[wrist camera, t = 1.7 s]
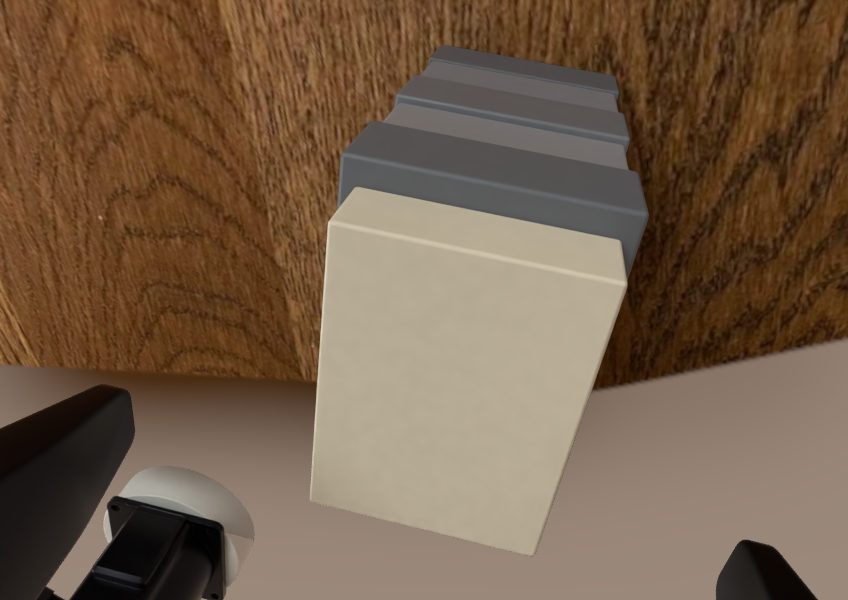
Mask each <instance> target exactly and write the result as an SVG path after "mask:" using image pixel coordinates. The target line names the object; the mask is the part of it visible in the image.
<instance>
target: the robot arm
mask: <svg viewBox="0 0 848 600" xmlns="http://www.w3.org/2000/svg"><path fill="white" fill-rule="evenodd" d="M134 434H135V426H134V418H133V411H132V403H131V397H130V394H129V392H128V391H127V390H125V389H122V388H118V387H113V386H110V385H103V384H101V385H97V386H95V387H92V388H90V389H88V390H86V391H84V392H81V393H79V394H77V395H74V396H72V397H70V398H68V399H65V400H63V401H61V402H59V403H56V404H54V405H52V406H50V407H48V408H45V409H43V410H41V411H39V412H36V413H34V414H32V415H29V416H27V417H25V418H23V419H21V420H18V421H16V422H14V423H12V424H9V425H7V426H5V427H3V428H0V600H64V599H63V598H61V597H59V596H57V595H56V594H54V591H53V590H51V589H50V588H48V587H46V585H47V584H48V582H49V581H50V579H51V578H52V577H53V575H54V574H55V572H56V571H57V569H58V568H59V566H60V565H61V564H62V562H63V561H64V559H65V558H66V556H67V555H68V554H69V552H70V551H71V549H72V548H73V546H74V545H75V543H76V542H77V540H78V539H79V537H80V536H81V534H82V533H83V531H84V529H85V528H86V526H87V524H88V523H89V521H90V519H91V517H92V516H93V514H94V512H95V510H96V508H97V506H98V505H99V503H100V501H101V499H102V497H103V496H104V494H105V492H106V490H107V488H108V486H109V485H110V483H111V481H112V479H113V477H114V476H115V474H116V472H117V470H118V468H119V467H120V465H121V463H122V461H123V459H124V458H125V456H126V454H127V452H128V450H129V448H130V447H131V444H132V442H133V439H134ZM107 509H108V515H109V522H110V528H111V534H112V540H111V542H110V543H109V545H108V546H107V548H106V549H105V550H104V551H103V553H102V554H101V556H100V557H99V558H98V560H97V561H96V562H95V564H94V565H93V567H92V569H91V570H90V572H89V573H88V574H87V576H86V577H85V579H84V580H83V581H82V583H81V584H80V586H79V587H78V588H77V590H76V591H75V592H74V594H73V595H72V597H71V598H70V599H69V600H201V598H204V599H207V600H223V599H224V597H225V595H226V568H225V536H224V527H223V525H222V524H221V523H219V522H217V521H214V520H210V519H206V518H202V517H198V516H195V515H191V514H187V513H183V512H179V511H175V510H171V509H167V508H163V507H159V506H155V505H151V504H148V503H144V502H140V501H136V500H132V499H128V498H124V497H120V496H113V497H112V498H111V500H110V501H109V502H108V503H107ZM716 600H818V599H817V598H816V597H815V596H814V594H813V593H812V592H811V591H810V590H809V588H808V587H807V586H806V585H805V583H804V582H803V581H802V580H801V579H800V578H799V576H798V575H797V574H796V573H795V571H794V570H793V569H792V568H791V566H790V565H789V564H788V563H787V561H786V560H785V559H784V558H783V556H782V555H781V554H780V553H779V552H778V551H777V550H776V549H775V548H774V547H772V546H770V545H766V544H763V543H758V542H754V541H750V540H742V541H740V542H739V543H738V544H737V546H736V547H735V549H734V551H733V552H732V554H731V556H730V557H729V559H728V561H727V563H726V564H725V566H724V568H723V569H722V571H721V573H720V575H719V577H718V581H717V586H716Z"/></svg>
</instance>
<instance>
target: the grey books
mask: <svg viewBox="0 0 848 600" xmlns="http://www.w3.org/2000/svg"><path fill="white" fill-rule="evenodd" d="M618 97H619V90H618V86H617V82H616V78H615V76H613V75H607V74H602V73H596V72H591V71H585V70H580V69H574V68H569V67H563V66H558V65H552V64H547V63H541V62H536V61H530V60H525V59H519V58H514V57H508V56H503V55H497V54H492V53H486V52H481V51H475V50H470V49H464V48H459V47H453V46H448V45H441V46H440V47H439V48H438V50H437V51H436V52H435V53H434V54H433V55H432V56H431V57H430V58H429V64H428V67H427V68H426V69H425V71H424V72H423V73H422V74H421V75H414V76H413V77H412V78H411V79H410V80H409V81H408V82H407V83H406V85H405V86H404V87H403V88H402V89H401V90H400V91H399V92H398V93H397V94H396V96H395V105H394V109H393V111H392V112H391V113H390V114H389V115H388V116H387V117H386V119H385V120H384V121H383V122H378V121H372V122H370V123H369V124H368V126H367V127H366V128H365V129H364V130H363V131H362V132H361V133H360V134H359V135H358V136H357V137H356V138H355V139H354V141H353V142H352V143H351V144H350V145H349V146H348V147H347V148H346V149H345V150H344V151H343V153H342V154H341V161H340V174H339V188H338V201H337V210H338V209H339V207H340V206H341V205H342V204H343V202H344V201H345V200H346V198H347V197H348V196H349V195H350V193H351V192H352V191H353V189H354V188H355V187H361V188H366V189H371V190H376V191H381V192H386V193H391V194H396V195H401V196H406V197H411V198H415V199H420V200H425V201H430V202H435V203H440V204H445V205H450V206H455V207H460V208H465V209H469V210H474V211H479V212H484V213H489V214H494V215H499V216H504V217H509V218H514V219H519V220H523V221H528V222H533V223H538V224H543V225H548V226H553V227H558V228H563V229H568V230H573V231H577V232H582V233H587V234H592V235H597V236H602V237H607V238H612V239H617V240H619V241H621V244H622V250H623V257H624V264H625V271H626V278H627V280H628V277H629V274H630V271H631V268H632V265H633V263H634V260H635V257H636V254H637V251H638V248H639V245H640V242H641V239H642V236H643V233H644V230H645V227H646V224H647V222H648V219H649V213H648V209H647V205H646V201H645V197H644V193H643V189H642V185H641V181H640V177H639V174H638V173H637V172H635V171H630V170H629V168H628V164H627V159H626V153H627V150H628V147H629V144H630V136H629V132H628V128H627V124H626V120H625V116H624V114H622V113H619V112H618V108H617V100H618Z"/></svg>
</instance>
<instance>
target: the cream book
mask: <svg viewBox="0 0 848 600" xmlns="http://www.w3.org/2000/svg"><path fill="white" fill-rule="evenodd" d="M627 286H628V285H627V278H626V271H625V264H624V257H623V250H622V244H621V241H619V240H617V239H612V238H607V237H602V236H597V235H592V234H587V233H582V232H577V231H573V230H568V229H563V228H558V227H553V226H548V225H543V224H538V223H533V222H528V221H523V220H519V219H514V218H509V217H504V216H499V215H494V214H489V213H484V212H479V211H474V210H469V209H465V208H460V207H455V206H450V205H445V204H440V203H435V202H430V201H425V200H420V199H415V198H411V197H406V196H401V195H396V194H391V193H386V192H381V191H376V190H371V189H366V188H361V187H355V188H354V189H353V191H352V192H351V193H350V195H349V196H348V197H347V198H346V200H345V201H344V202H343V204H342V205H341V206H340V207H339V209H338V210H337V211H336V213H335V214H334V215H333V217H332V218H331V219H330V221H329V222H328V231H327V246H326V261H325V276H324V291H323V306H322V321H321V336H320V351H319V366H318V381H317V396H316V412H315V426H314V442H313V456H312V472H311V473H312V474H311V486H310V501H311V502H314V503H318V504H322V505H326V506H330V507H334V508H338V509H342V510H346V511H350V512H354V513H358V514H362V515H366V516H370V517H374V518H378V519H382V520H386V521H390V522H394V523H398V524H402V525H406V526H410V527H415V528H418V529H422V530H426V531H430V532H435V533H438V534H442V535H446V536H450V537H454V538H458V539H462V540H466V541H471V542H474V543H478V544H483V545H487V546H490V547H494V548H499V549H502V550H506V551H510V552H514V553H519V554H522V555H526V556H531V557H533V556H534V555H535V554H536V551H537V548H538V545H539V543H540V540H541V537H542V534H543V531H544V528H545V525H546V522H547V519H548V516H549V513H550V510H551V508H552V505H553V502H554V499H555V496H556V493H557V490H558V487H559V484H560V481H561V479H562V476H563V472H564V470H565V467H566V464H567V461H568V458H569V455H570V452H571V449H572V447H573V444H574V441H575V438H576V435H577V432H578V429H579V426H580V423H581V420H582V417H583V414H584V412H585V409H586V406H587V403H588V400H589V397H590V394H591V391H592V388H593V385H594V382H595V380H596V377H597V374H598V371H599V368H600V365H601V362H602V359H603V356H604V353H605V350H606V348H607V345H608V342H609V339H610V336H611V333H612V330H613V327H614V324H615V321H616V318H617V315H618V313H619V310H620V307H621V304H622V301H623V298H624V295H625V292H626V289H627Z"/></svg>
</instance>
